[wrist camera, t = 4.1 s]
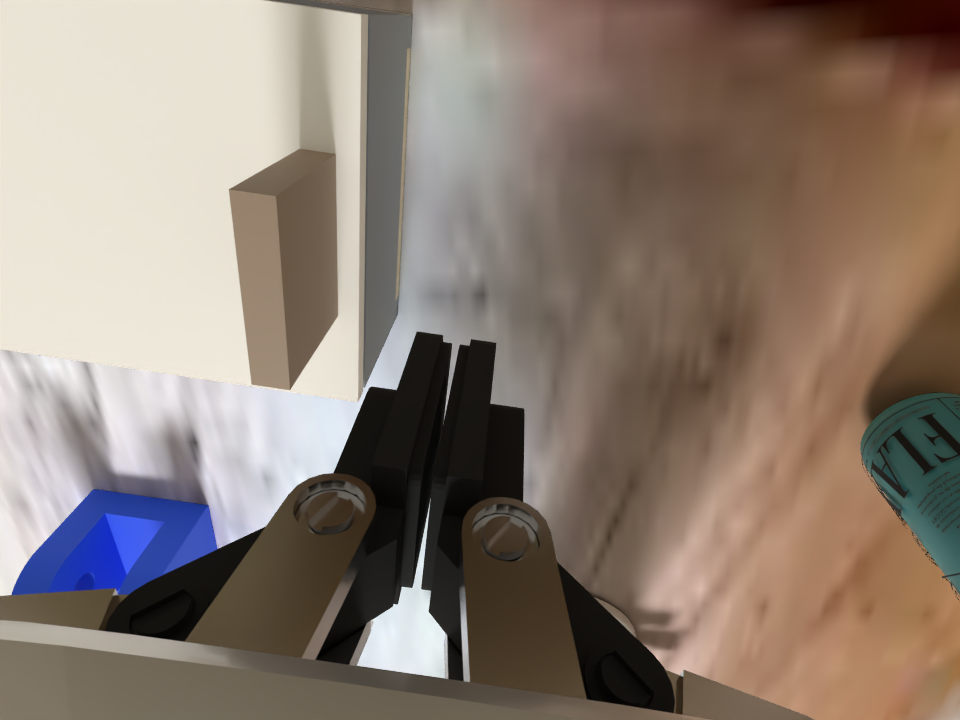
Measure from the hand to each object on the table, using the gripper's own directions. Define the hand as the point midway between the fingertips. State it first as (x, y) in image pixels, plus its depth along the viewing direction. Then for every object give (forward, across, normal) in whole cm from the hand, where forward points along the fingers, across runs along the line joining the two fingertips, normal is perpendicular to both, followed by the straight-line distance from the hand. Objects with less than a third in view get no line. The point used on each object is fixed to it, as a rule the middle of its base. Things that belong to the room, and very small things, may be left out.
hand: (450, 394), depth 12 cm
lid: (+10, +15, +1) cm, 18 cm away
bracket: (+17, +21, +35) cm, 44 cm away
